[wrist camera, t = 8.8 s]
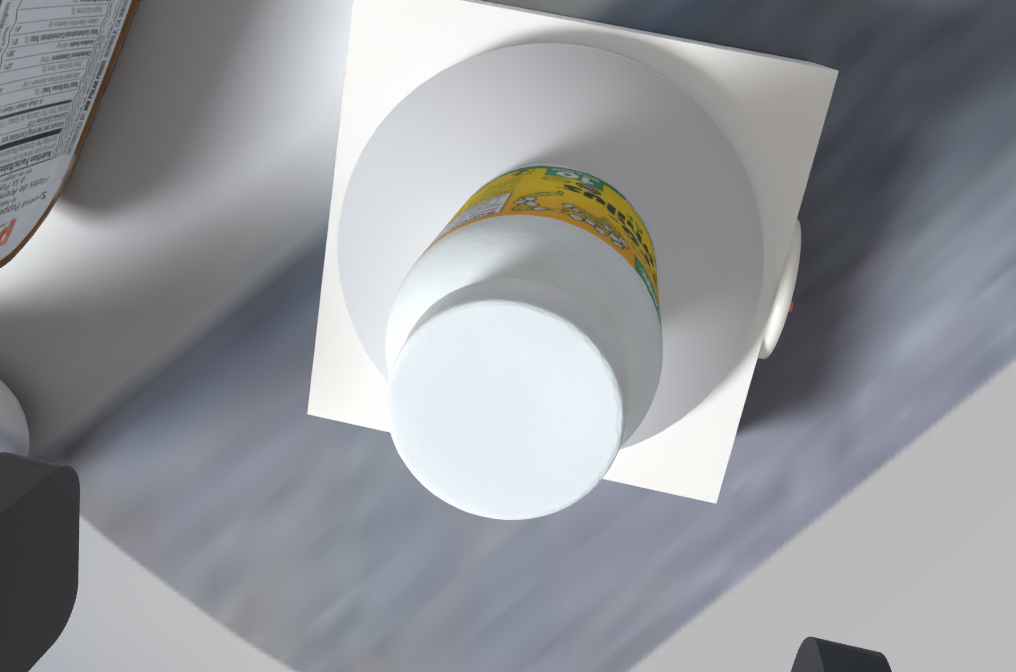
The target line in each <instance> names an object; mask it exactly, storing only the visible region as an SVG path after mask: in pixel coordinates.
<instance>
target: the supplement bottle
mask: <svg viewBox="0 0 1016 672" xmlns="http://www.w3.org/2000/svg"><path fill="white" fill-rule="evenodd" d="M385 353H386V363H387V368H388V373H389V380H388V385H387V393H386V412H387V419H388V424H389V428H390V432H391V436H392V438H393V441H394V444H395V446H396V448H397V450H398V453H399V454H400V456H401V458H402V459H403V461H404V463H405V464H406V465H407V467H408V468H409V470H410V471H411V472H412V474H413V475H414V476H415V477H416V478H417V479H418V480H419V481H420V482H421V483H422V484H423V485H424V486H425V487H426V488H427V489H428V490H429V491H431V492H432V493H433V494H435V495H436V496H438V497H439V498H441V499H442V500H444V501H445V502H447V503H449V504H451V505H453V506H455V507H457V508H459V509H461V510H464V511H466V512H469V513H472V514H475V515H480V516H484V517H488V518H494V519H505V520H518V519H531V518H535V517H541V516H545V515H548V514H551V513H555V512H557V511H559V510H561V509H564V508H566V507H568V506H570V505H572V504H573V503H575V502H576V501H578V500H580V499H581V498H583V497H584V496H585V495H586V494H587V493H588V492H590V491H591V490H592V489H593V488H594V487H596V486H597V485H598V483H599V482H600V480H601V479H602V478H603V477H604V475H605V474H606V473H607V471H608V470H609V469H610V467H611V465H612V463H613V462H614V460H615V458H616V456H617V453H618V451H619V449H620V447H621V446H622V445H623V444H624V443H625V442H626V441H627V440H628V439H629V438H630V437H631V436H632V435H633V433H634V432H635V431H636V429H637V428H638V427H639V425H640V424H641V423H642V421H643V419H644V418H645V416H646V414H647V412H648V410H649V408H650V406H651V404H652V402H653V399H654V396H655V394H656V391H657V388H658V384H659V380H660V375H661V369H662V358H663V338H662V327H661V318H660V305H659V295H658V281H657V266H656V258H655V250H654V245H653V241H652V237H651V235H650V232H649V230H648V227H647V225H646V223H645V221H644V219H643V218H642V216H641V215H640V213H639V211H638V210H637V209H636V207H635V206H634V204H633V203H632V202H631V201H630V200H629V199H628V198H627V196H626V195H625V194H624V193H622V192H621V191H620V190H619V189H618V188H617V187H615V186H614V185H613V184H611V183H610V182H608V181H606V180H604V179H603V178H601V177H599V176H596V175H594V174H591V173H589V172H586V171H583V170H580V169H576V168H573V167H569V166H564V165H558V164H550V163H546V164H531V165H526V166H521V167H517V168H514V169H511V170H509V171H506V172H504V173H502V174H500V175H498V176H496V177H495V178H493V179H491V180H490V181H488V182H487V183H486V184H484V185H483V186H482V187H480V188H479V189H478V190H477V191H476V192H475V193H474V194H473V195H472V196H471V197H470V198H469V199H468V200H467V201H466V202H465V204H464V205H463V206H462V207H461V208H460V209H459V211H458V212H457V213H456V214H455V215H454V217H453V218H452V219H451V220H450V221H449V223H448V224H447V225H446V226H445V227H444V229H443V230H442V231H441V232H440V233H439V234H438V236H437V237H436V238H435V239H434V240H433V242H432V243H431V244H430V245H429V247H428V248H427V249H426V250H425V251H424V252H423V254H422V255H421V256H420V257H419V258H418V259H417V261H416V262H415V264H414V265H413V266H412V268H411V269H410V271H409V272H408V273H407V275H406V276H405V278H404V280H403V281H402V283H401V285H400V286H399V289H398V291H397V293H396V295H395V298H394V300H393V303H392V306H391V309H390V313H389V317H388V322H387V329H386V338H385Z"/></svg>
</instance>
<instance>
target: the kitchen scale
mask: <svg viewBox="0 0 1016 672" xmlns="http://www.w3.org/2000/svg"><path fill="white" fill-rule="evenodd" d="M838 72H839V71H837V70H834V69H831V68H828V67H825V66H822V65H819V64H816V63H813V62H809V61H803V60H798V59H793V58H787V57H782V56H776V55H771V54H766V53H760V52H755V51H750V50H744V49H739V48H734V47H728V46H723V45H718V44H712V43H707V42H701V41H696V40H691V39H685V38H680V37H675V36H669V35H664V34H659V33H653V32H648V31H642V30H637V29H632V28H626V27H621V26H616V25H610V24H605V23H600V22H594V21H589V20H583V19H578V18H573V17H567V16H562V15H557V14H551V13H546V12H541V11H535V10H530V9H524V8H519V7H514V6H508V5H503V4H498V3H492V2H487V1H482V0H353V8H352V17H351V26H350V35H349V44H348V53H347V62H346V71H345V80H344V89H343V98H342V107H341V116H340V125H339V134H338V143H337V152H336V161H335V170H334V179H333V189H332V198H331V207H330V216H329V225H328V234H327V243H326V252H325V261H324V270H323V279H322V288H321V297H320V306H319V315H318V324H317V333H316V342H315V351H314V360H313V369H312V378H311V387H310V396H309V405H308V414H309V415H314V416H318V417H323V418H327V419H332V420H337V421H341V422H346V423H350V424H355V425H360V426H364V427H369V428H373V429H378V430H382V431H387V432H390V428H389V424H388V419H387V412H386V393H387V385H388V380H389V373H388V368H387V363H386V353H385V338H386V329H387V322H388V317H389V313H390V309H391V306H392V303H393V300H394V298H395V295H396V293H397V291H398V289H399V286H400V285H401V283H402V281H403V280H404V278H405V276H406V275H407V273H408V272H409V271H410V269H411V268H412V266H413V265H414V264H415V262H416V261H417V259H418V258H419V257H420V256H421V255H422V254H423V252H424V251H425V250H426V249H427V248H428V247H429V245H430V244H431V243H432V242H433V240H434V239H435V238H436V237H437V236H438V234H439V233H440V232H441V231H442V230H443V229H444V227H445V226H446V225H447V224H448V223H449V221H450V220H451V219H452V218H453V217H454V215H455V214H456V213H457V212H458V211H459V209H460V208H461V207H462V206H463V205H464V204H465V202H466V201H467V200H468V199H469V198H470V197H471V196H472V195H473V194H474V193H475V192H476V191H477V190H478V189H479V188H480V187H482V186H483V185H484V184H486V183H487V182H488V181H490V180H491V179H493V178H495V177H496V176H498V175H500V174H502V173H504V172H506V171H509V170H511V169H514V168H517V167H521V166H526V165H531V164H546V163H550V164H558V165H564V166H569V167H573V168H576V169H580V170H583V171H586V172H589V173H591V174H594V175H596V176H599V177H601V178H603V179H604V180H606V181H608V182H610V183H611V184H613V185H614V186H615V187H617V188H618V189H619V190H620V191H621V192H622V193H624V194H625V195H626V196H627V198H628V199H629V200H630V201H631V202H632V203H633V204H634V206H635V207H636V209H637V210H638V211H639V213H640V215H641V216H642V218H643V219H644V221H645V223H646V225H647V227H648V230H649V232H650V235H651V237H652V241H653V245H654V250H655V258H656V266H657V281H658V295H659V305H660V318H661V327H662V338H663V358H662V369H661V375H660V380H659V384H658V388H657V391H656V394H655V396H654V399H653V402H652V404H651V406H650V408H649V410H648V412H647V414H646V416H645V418H644V419H643V421H642V423H641V424H640V425H639V427H638V428H637V429H636V431H635V432H634V433H633V435H632V436H631V437H630V438H629V439H628V440H627V441H626V442H625V443H624V444H623V445H622V446H621V447H620V449H619V451H618V453H617V456H616V458H615V460H614V462H613V463H612V465H611V467H610V469H609V470H608V471H607V473H606V474H605V475H604V477H603V478H602V479H606V480H611V481H616V482H620V483H625V484H629V485H634V486H639V487H643V488H648V489H652V490H657V491H661V492H666V493H671V494H675V495H680V496H684V497H689V498H693V499H698V500H703V501H707V502H712V503H716V502H717V499H718V495H719V492H720V488H721V485H722V481H723V478H724V474H725V471H726V467H727V464H728V460H729V457H730V453H731V449H732V446H733V442H734V439H735V435H736V432H737V428H738V425H739V421H740V418H741V414H742V411H743V407H744V404H745V400H746V397H747V393H748V389H749V386H750V382H751V379H752V375H753V372H754V368H755V365H756V361H757V358H761V359H766V358H767V357H769V355H770V354H771V353H772V351H773V349H774V348H775V346H776V344H777V342H778V339H779V337H780V335H781V332H782V330H783V327H784V324H785V321H786V318H787V315H788V312H792V309H793V306H794V303H793V301H792V296H793V292H794V288H795V283H796V278H797V273H798V267H799V260H800V251H801V226H800V222H799V220H798V219H797V217H798V213H799V210H800V206H801V202H802V199H803V195H804V192H805V188H806V185H807V181H808V178H809V174H810V171H811V167H812V164H813V160H814V157H815V153H816V150H817V146H818V142H819V139H820V135H821V132H822V128H823V125H824V121H825V118H826V114H827V111H828V107H829V104H830V100H831V97H832V93H833V90H834V86H835V83H836V79H837V75H838Z"/></svg>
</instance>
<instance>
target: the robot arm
mask: <svg viewBox="0 0 1016 672" xmlns="http://www.w3.org/2000/svg"><path fill="white" fill-rule="evenodd" d="M79 507H80V483H79V478H78V475H77V473H76V471H75V470H74V469H73V468H72V467H70V466H66V465H62V464H57V463H53V462H49V461H44V460H40V459H35V458H31V457H27V456H22V455H18V454H13V453H9V452H1V453H0V672H28V671H29V670H30V669H31V668H32V667H33V666H34V665H35V663H36V662H37V661H38V660H39V659H40V658H41V657H42V656H43V655H44V654H45V653H46V651H47V650H48V649H49V648H50V647H51V646H52V645H53V644H54V643H55V641H56V640H57V639H58V637H59V636H60V634H61V633H62V631H63V629H64V628H65V626H66V624H67V622H68V619H69V617H70V615H71V612H72V609H73V606H74V603H75V599H76V595H77V589H78V560H79ZM791 672H892V671H891V669H890V666H889V663H888V661H887V659H886V657H885V656H884V655H883V654H882V653H880V652H876V651H872V650H867V649H863V648H858V647H854V646H850V645H845V644H841V643H837V642H832V641H828V640H823V639H819V638H815V637H807V638H806V639H805V640H804V641H803V643H802V644H801V646H800V648H799V650H798V653H797V655H796V658H795V661H794V664H793V667H792V670H791Z"/></svg>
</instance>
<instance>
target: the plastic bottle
mask: <svg viewBox="0 0 1016 672" xmlns="http://www.w3.org/2000/svg"><path fill="white" fill-rule="evenodd" d="M1 452H9V453H13V454H18V455H22V456H27V457H28V455H29V431H28V424H27V421H26V418H25V414H24V412H23V410H22V408H21V406H20V404H19V402H18V400H17V398H16V397H15V396H14V394H13V393H12V392H11V390H10V389H9V387H8V386H7V385H6V384H5V383H4V382H3V381H2V380H1V379H0V453H1Z"/></svg>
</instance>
